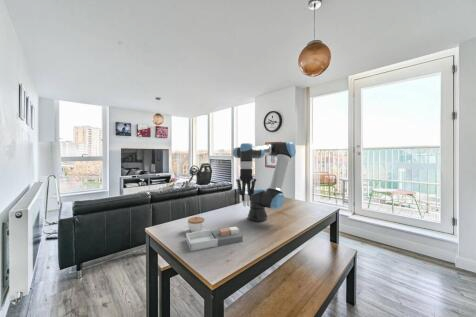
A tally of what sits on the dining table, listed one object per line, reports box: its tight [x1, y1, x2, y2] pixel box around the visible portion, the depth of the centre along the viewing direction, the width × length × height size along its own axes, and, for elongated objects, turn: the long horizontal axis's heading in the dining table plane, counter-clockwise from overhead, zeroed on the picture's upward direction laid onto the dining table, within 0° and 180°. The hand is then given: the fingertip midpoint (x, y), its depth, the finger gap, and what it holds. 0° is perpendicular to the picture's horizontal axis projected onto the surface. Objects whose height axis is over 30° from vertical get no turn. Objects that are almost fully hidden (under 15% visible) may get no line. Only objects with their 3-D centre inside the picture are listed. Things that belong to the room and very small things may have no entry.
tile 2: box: [227, 226, 240, 235], centre depth 122 cm, size 5×5×2 cm
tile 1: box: [218, 227, 230, 236], centre depth 120 cm, size 5×5×2 cm
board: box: [211, 229, 244, 247], centre depth 120 cm, size 15×14×3 cm
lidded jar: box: [187, 216, 205, 232], centre depth 132 cm, size 11×11×9 cm
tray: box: [185, 229, 219, 252], centre depth 114 cm, size 15×15×4 cm
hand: (246, 205), depth 125 cm, fingers open, 2 cm apart
